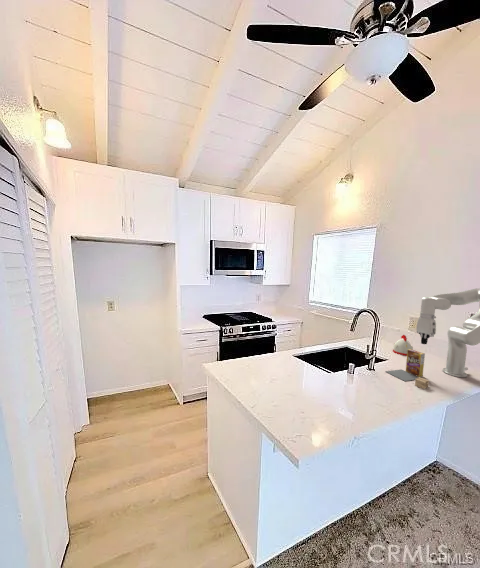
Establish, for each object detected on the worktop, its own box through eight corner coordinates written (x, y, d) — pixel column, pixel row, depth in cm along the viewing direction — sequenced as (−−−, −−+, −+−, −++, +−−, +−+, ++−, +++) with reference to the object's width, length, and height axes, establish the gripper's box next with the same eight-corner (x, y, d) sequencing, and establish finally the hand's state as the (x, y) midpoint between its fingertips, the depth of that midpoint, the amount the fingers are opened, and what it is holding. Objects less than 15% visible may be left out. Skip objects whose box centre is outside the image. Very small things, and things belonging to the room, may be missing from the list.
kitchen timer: (396, 354, 204) (398, 336, 203) (389, 349, 217) (391, 332, 216) (416, 356, 202) (417, 338, 200) (407, 350, 215) (409, 333, 214)
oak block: (418, 383, 154) (419, 377, 154) (428, 387, 150) (428, 380, 150) (414, 385, 151) (415, 379, 151) (424, 389, 147) (425, 382, 147)
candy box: (405, 371, 171) (407, 349, 170) (409, 370, 172) (411, 348, 171) (418, 377, 163) (421, 354, 161) (423, 376, 164) (425, 353, 163)
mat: (401, 369, 173) (401, 369, 173) (421, 379, 160) (421, 378, 160) (385, 371, 169) (385, 371, 169) (404, 381, 156) (404, 380, 156)
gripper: (443, 318, 161) (439, 347, 162) (420, 314, 175) (417, 340, 176) (434, 319, 158) (431, 347, 160) (411, 314, 173) (409, 340, 174)
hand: (423, 343), depth 168 cm, fingers closed
